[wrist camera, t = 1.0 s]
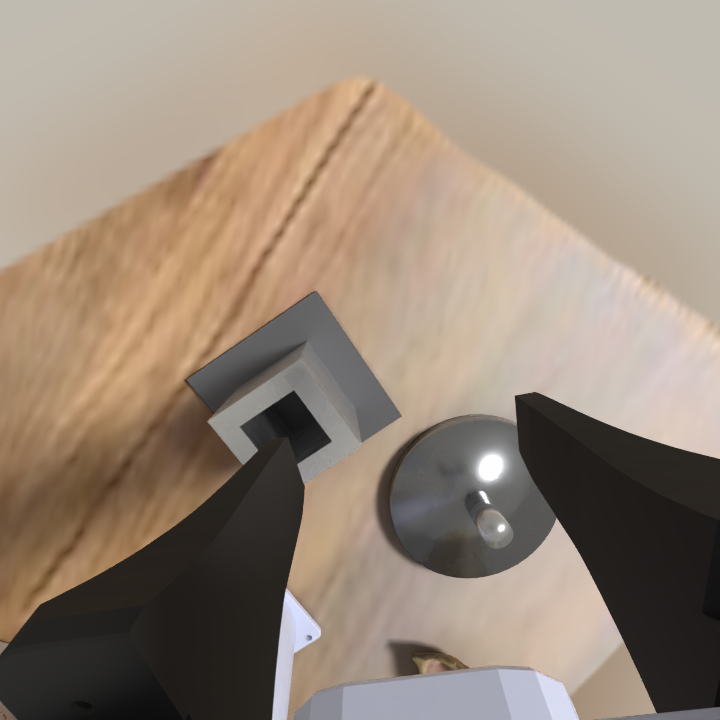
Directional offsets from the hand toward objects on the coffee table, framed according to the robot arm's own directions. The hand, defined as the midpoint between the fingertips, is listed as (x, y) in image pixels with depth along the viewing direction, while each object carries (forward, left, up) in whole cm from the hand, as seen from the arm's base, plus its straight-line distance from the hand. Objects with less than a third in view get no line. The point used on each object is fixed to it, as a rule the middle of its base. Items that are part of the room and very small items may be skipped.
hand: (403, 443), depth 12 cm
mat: (-5, 0, -14) cm, 15 cm away
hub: (+1, -13, -14) cm, 18 cm away
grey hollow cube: (-5, 0, -13) cm, 14 cm away
